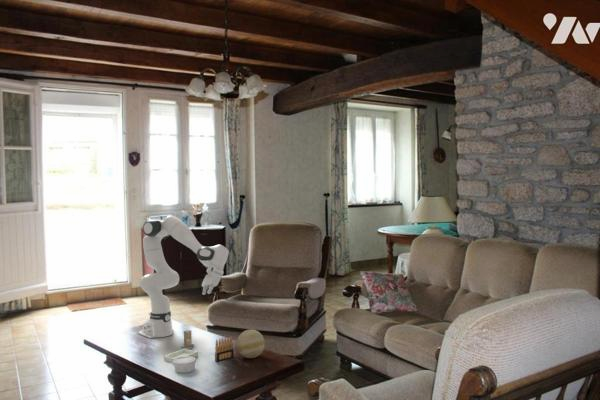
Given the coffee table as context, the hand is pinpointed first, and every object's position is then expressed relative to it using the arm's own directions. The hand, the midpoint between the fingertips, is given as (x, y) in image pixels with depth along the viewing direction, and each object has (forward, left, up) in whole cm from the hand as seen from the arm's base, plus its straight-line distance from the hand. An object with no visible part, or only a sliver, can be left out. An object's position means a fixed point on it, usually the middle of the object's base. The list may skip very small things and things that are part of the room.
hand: (205, 293), depth 295 cm
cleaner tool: (-6, -9, -30) cm, 32 cm away
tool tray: (+3, -23, -30) cm, 38 cm away
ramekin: (+17, -34, -30) cm, 49 cm away
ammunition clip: (+25, -13, -30) cm, 41 cm away
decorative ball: (+35, -3, -30) cm, 46 cm away
